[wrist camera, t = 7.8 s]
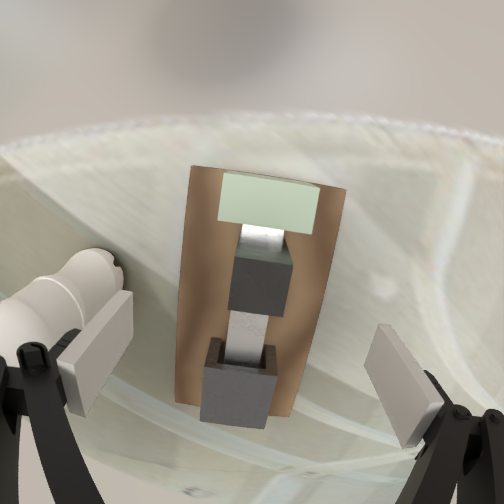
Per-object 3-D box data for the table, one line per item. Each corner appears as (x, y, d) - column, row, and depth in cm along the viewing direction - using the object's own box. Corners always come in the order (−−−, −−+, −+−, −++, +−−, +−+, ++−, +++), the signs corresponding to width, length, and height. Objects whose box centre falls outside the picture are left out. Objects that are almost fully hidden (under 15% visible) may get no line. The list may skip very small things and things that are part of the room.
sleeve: (206, 389, 39) (199, 420, 33) (211, 336, 37) (203, 366, 31) (263, 397, 39) (264, 429, 33) (275, 345, 37) (277, 376, 31)
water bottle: (77, 240, 35) (-82, 338, 11) (128, 245, 35) (-26, 371, 11) (81, 294, 37) (-45, 417, 13) (130, 302, 37) (16, 455, 13)
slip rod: (224, 356, 37) (212, 426, 26) (249, 178, 31) (243, 189, 20) (257, 361, 37) (256, 431, 26) (288, 184, 32) (305, 198, 20)
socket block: (224, 209, 32) (217, 220, 27) (230, 170, 31) (223, 172, 26) (302, 221, 33) (311, 234, 27) (308, 182, 32) (320, 188, 26)
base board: (176, 397, 41) (174, 401, 40) (193, 165, 32) (191, 165, 31) (288, 412, 41) (289, 417, 40) (343, 189, 33) (346, 189, 32)
